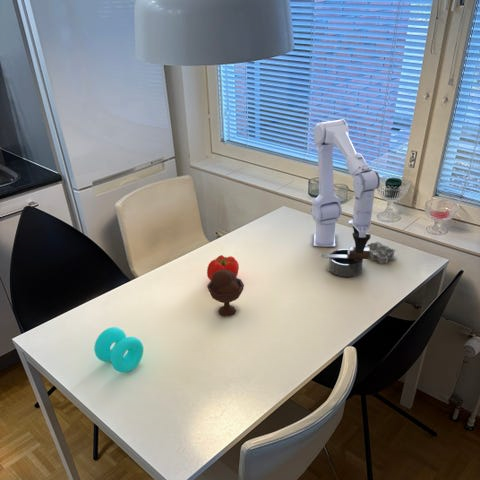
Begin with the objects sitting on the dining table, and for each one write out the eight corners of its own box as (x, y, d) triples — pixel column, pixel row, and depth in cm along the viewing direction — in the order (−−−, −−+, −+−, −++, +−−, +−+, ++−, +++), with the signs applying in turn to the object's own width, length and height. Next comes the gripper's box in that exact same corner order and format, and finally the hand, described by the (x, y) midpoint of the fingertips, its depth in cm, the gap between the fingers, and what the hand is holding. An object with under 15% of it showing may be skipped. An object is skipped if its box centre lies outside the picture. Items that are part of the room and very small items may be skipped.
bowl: (328, 260, 176) (329, 248, 173) (360, 262, 175) (361, 249, 172) (328, 277, 167) (329, 264, 164) (362, 278, 166) (363, 265, 163)
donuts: (124, 347, 141) (118, 319, 135) (148, 361, 136) (142, 332, 130) (96, 365, 135) (88, 337, 129) (119, 381, 130) (112, 352, 124)
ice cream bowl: (244, 320, 149) (243, 278, 140) (208, 321, 150) (204, 279, 141) (245, 301, 158) (243, 260, 149) (210, 301, 158) (206, 261, 149)
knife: (368, 255, 168) (369, 247, 166) (368, 259, 166) (369, 251, 164) (320, 254, 170) (321, 246, 168) (320, 257, 168) (321, 249, 166)
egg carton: (359, 254, 179) (360, 244, 177) (373, 248, 183) (374, 238, 180) (382, 265, 172) (383, 255, 170) (396, 258, 176) (398, 248, 173)
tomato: (240, 273, 172) (239, 251, 166) (237, 290, 163) (236, 268, 158) (210, 273, 173) (208, 251, 168) (205, 290, 164) (203, 267, 159)
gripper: (349, 199, 164) (345, 236, 172) (351, 218, 152) (347, 257, 160) (371, 200, 163) (366, 237, 171) (374, 219, 151) (369, 258, 159)
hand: (358, 247), depth 165 cm, fingers open, 7 cm apart
